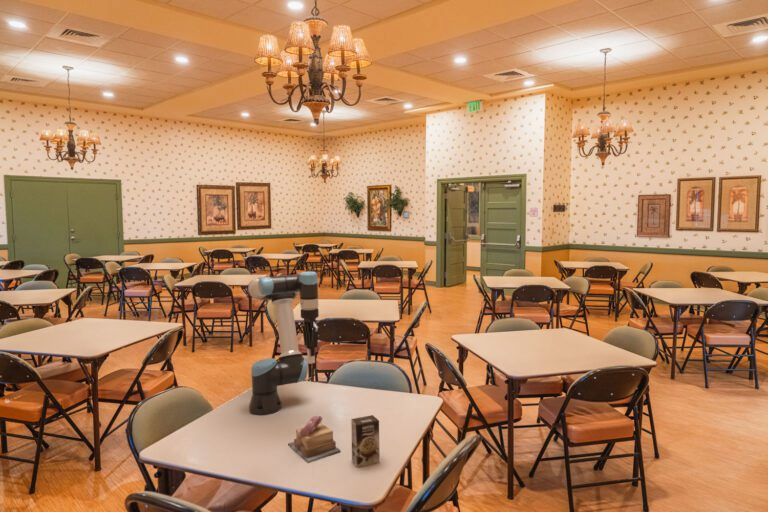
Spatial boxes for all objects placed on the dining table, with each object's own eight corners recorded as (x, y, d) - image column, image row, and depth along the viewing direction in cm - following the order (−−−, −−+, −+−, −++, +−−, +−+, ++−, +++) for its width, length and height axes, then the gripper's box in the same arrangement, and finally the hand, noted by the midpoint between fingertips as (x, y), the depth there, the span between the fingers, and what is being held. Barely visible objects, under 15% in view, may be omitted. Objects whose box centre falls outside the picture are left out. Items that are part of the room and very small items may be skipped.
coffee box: (357, 467, 179) (356, 425, 178) (351, 460, 185) (350, 418, 184) (380, 462, 183) (379, 420, 181) (373, 454, 189) (372, 414, 187)
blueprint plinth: (288, 445, 198) (287, 426, 197) (319, 435, 206) (318, 417, 205) (307, 463, 183) (307, 442, 183) (340, 452, 191) (339, 432, 191)
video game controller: (308, 440, 188) (314, 425, 186) (298, 434, 189) (305, 419, 188) (319, 429, 197) (326, 415, 196) (310, 423, 198) (316, 409, 197)
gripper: (294, 307, 211) (296, 361, 213) (308, 311, 201) (310, 368, 202) (310, 305, 215) (312, 357, 217) (324, 309, 205) (326, 364, 207)
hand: (311, 362), depth 210 cm, fingers closed
